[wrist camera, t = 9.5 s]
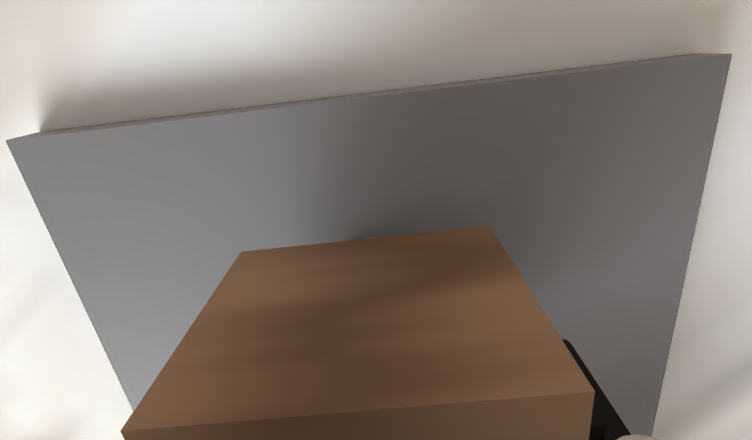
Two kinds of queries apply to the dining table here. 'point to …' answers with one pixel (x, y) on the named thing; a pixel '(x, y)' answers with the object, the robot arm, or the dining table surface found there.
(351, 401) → the wooden crate
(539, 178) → the board
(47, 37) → the dining table surface
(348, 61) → the dining table surface
